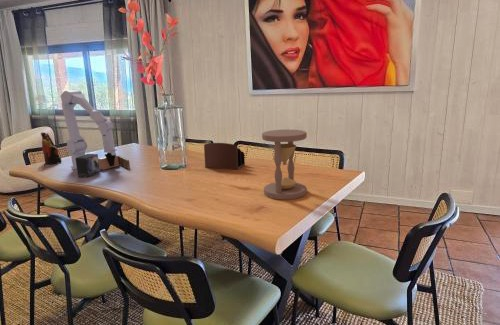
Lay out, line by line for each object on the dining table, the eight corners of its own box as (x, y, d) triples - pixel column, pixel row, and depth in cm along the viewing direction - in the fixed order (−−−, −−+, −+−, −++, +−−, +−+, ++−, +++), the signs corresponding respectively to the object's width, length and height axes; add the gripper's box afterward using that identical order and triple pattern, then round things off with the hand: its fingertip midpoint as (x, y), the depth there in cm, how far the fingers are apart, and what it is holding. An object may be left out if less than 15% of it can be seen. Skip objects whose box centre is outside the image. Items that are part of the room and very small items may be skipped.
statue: (62, 162, 215) (57, 131, 210) (49, 165, 209) (43, 133, 205) (55, 160, 223) (50, 130, 218) (42, 162, 217) (36, 131, 212)
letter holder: (238, 170, 180) (236, 143, 177) (204, 168, 188) (202, 142, 184) (245, 165, 189) (243, 140, 186) (213, 163, 197) (211, 139, 193)
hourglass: (290, 203, 129) (289, 137, 123) (255, 194, 140) (252, 134, 134) (314, 190, 142) (314, 130, 136) (280, 183, 153) (279, 128, 147)
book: (98, 169, 194) (96, 158, 193) (114, 165, 202) (112, 155, 201) (103, 169, 191) (101, 159, 190) (119, 165, 199) (117, 155, 198)
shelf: (95, 168, 197) (94, 159, 196) (120, 163, 205) (119, 155, 204) (103, 173, 184) (102, 164, 183) (130, 168, 192) (129, 160, 191)
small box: (88, 177, 177) (85, 158, 175) (77, 177, 179) (74, 157, 176) (101, 172, 187) (98, 153, 185) (90, 172, 189) (87, 153, 186)
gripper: (119, 142, 187) (123, 166, 190) (112, 139, 198) (115, 162, 202) (106, 144, 183) (110, 169, 186) (99, 141, 194) (102, 164, 197)
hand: (112, 165), depth 194 cm, fingers closed
